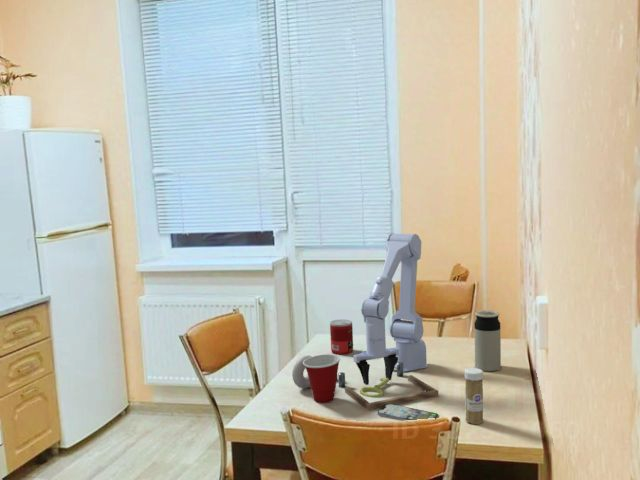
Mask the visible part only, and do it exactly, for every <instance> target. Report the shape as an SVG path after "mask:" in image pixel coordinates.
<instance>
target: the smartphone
mask: <svg viewBox="0 0 640 480" xmlns="http://www.w3.org/2000/svg"><path fill="white" fill-rule="evenodd" d="M377 416H378V417H382V418H388V419H393V420H399V421H403V420H417V419H428V418H436V419H438V417H439V414H438V413H437V412H433V411H427V410H422V409H418V408H413V407H407V406H402V405H400V404H397V405H394V404H386V405H385V406H384V407H382V408H379V410H377Z"/></svg>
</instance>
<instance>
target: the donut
mask: <svg viewBox="0 0 640 480" xmlns="http://www.w3.org/2000/svg"><path fill="white" fill-rule="evenodd" d="M309 357H313V356H311V355H310V354H309V355H303V356H301V357H299V358H298V359H297V360H296V362H295V363H294V364H293V368H292V375H291V376H292V380H293V382H294V385H295V386H297V387H298V388H300V389H308V388H311V386H310V381H309V377H308V373H307V374H306V375H304V373H305V372H304V371H306V367H305V366H304V364H303V361H304V360H305V359H307V358H309Z"/></svg>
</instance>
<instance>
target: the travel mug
mask: <svg viewBox="0 0 640 480" xmlns="http://www.w3.org/2000/svg"><path fill="white" fill-rule="evenodd" d="M474 314H475V317H476V318H475V321H474V325H473V326H474V368H477V369H481V370H482V371H483V372H489V371H491V372H496V371H498V370H500V369H501V368H502V366H501V365H502V364H501V362H502V361H501V357H502V355H501V354H502V353H501V339H502V338H501V322H500V320H499V316H500V312H498V311H495V310H479V311H475V313H474Z"/></svg>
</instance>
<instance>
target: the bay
mask: <svg viewBox="0 0 640 480" xmlns="http://www.w3.org/2000/svg"><path fill="white" fill-rule="evenodd" d="M407 376H408V377H407V381H408V382H410V383H411V384H413V385H415V386H417V387H418V388H420V389H422V390H423V392H417V393H412V394H407V395H402V396H397V397H393V398H392V397H391V398H388V399H382V400H377V401H373V402H369V401H368V400H367V399H366V398H364V396H362V395H361V394H360V393H357V392H356V391H355V390H353V389H352V388H351V387H350V386H345V387H344V393H345V394H346V395H348V397H350V398H352V399H353V400H354V401H355V402H357V404H359V405H360V406H361V407H363V408H364V409H365V410H366V411H371V410H378V409H381V408H382V407H384V406H385V405H386V404H394V405H401V404H406V403H410V402H411V403H412V402H416V401H422V400H426V399H432V398H435V397H439V391H438V389H436V388H434V387H433V386H431V385H429V384H427V383H425V382H424V381H422V380H421V379H419V378H418V377H415V376H413V375H412V374H411V375H407Z"/></svg>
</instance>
